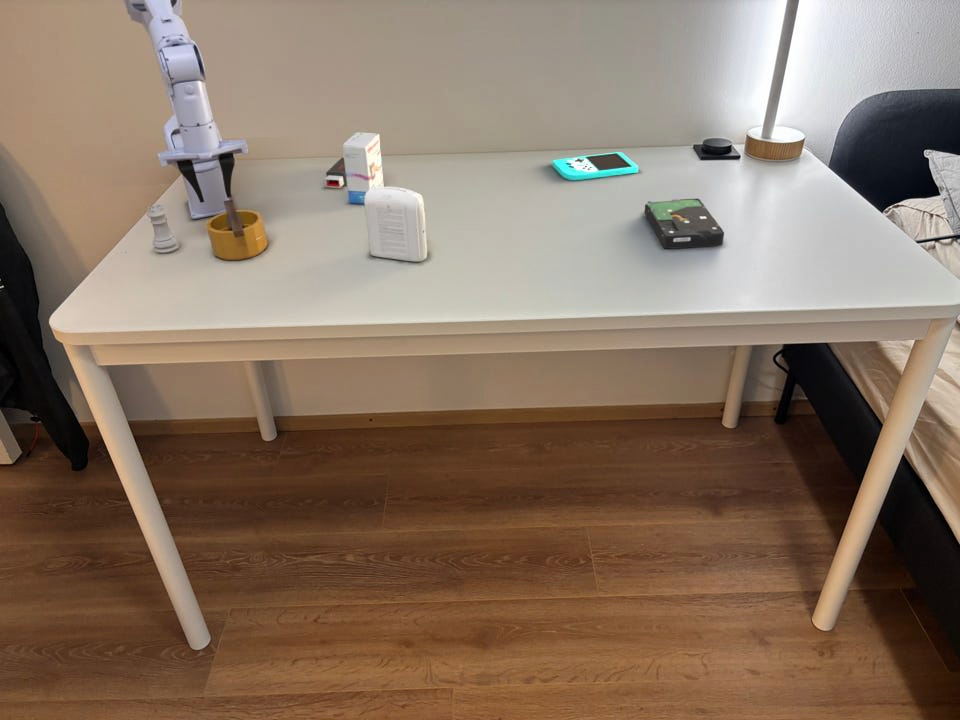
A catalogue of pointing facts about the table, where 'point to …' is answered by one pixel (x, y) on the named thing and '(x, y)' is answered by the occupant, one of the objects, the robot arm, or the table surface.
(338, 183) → the usb drive
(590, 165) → the handheld game console
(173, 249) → the rook chess piece
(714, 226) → the disk drive
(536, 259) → the table surface
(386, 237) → the photo printer
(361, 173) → the ink box
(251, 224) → the bowl
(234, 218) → the tall wooden post
